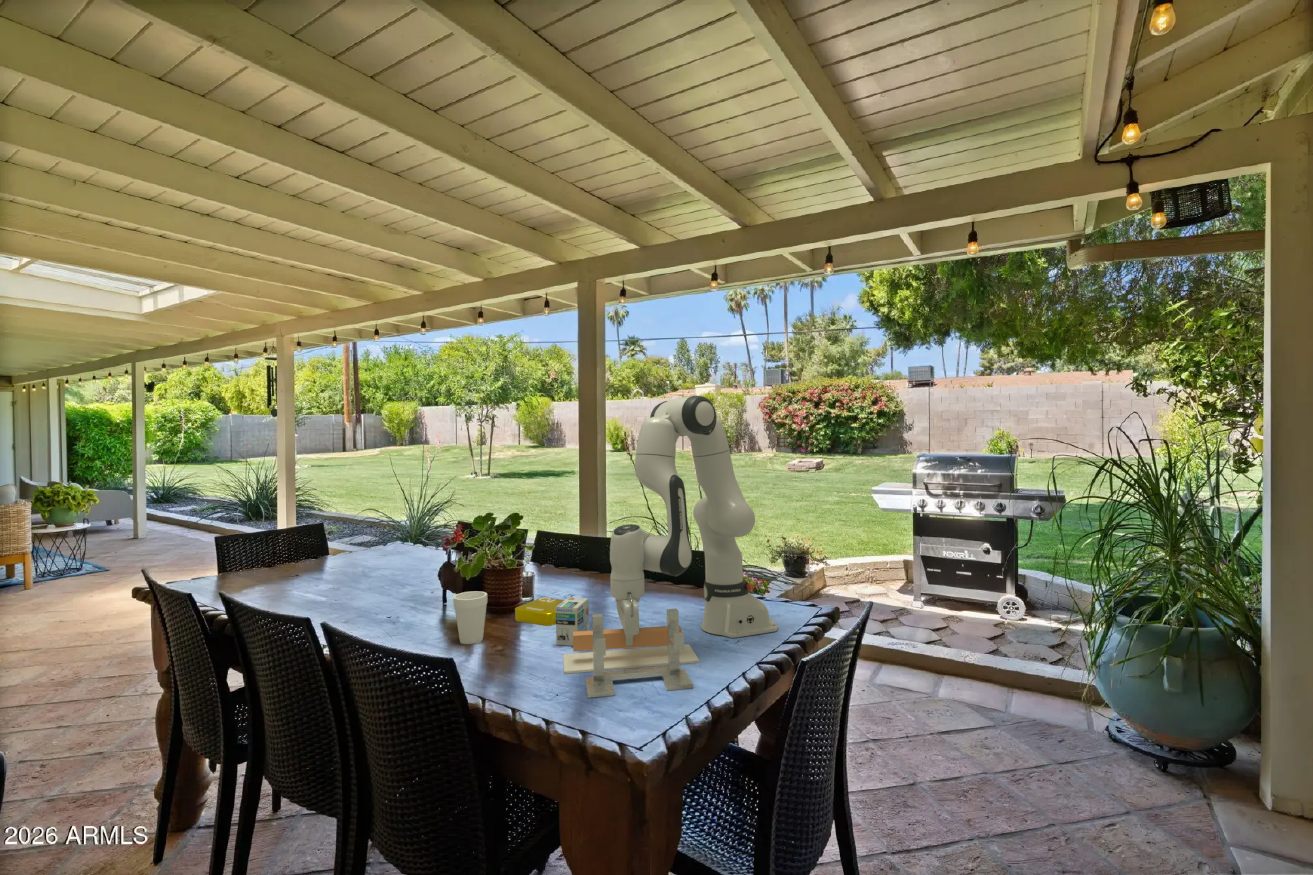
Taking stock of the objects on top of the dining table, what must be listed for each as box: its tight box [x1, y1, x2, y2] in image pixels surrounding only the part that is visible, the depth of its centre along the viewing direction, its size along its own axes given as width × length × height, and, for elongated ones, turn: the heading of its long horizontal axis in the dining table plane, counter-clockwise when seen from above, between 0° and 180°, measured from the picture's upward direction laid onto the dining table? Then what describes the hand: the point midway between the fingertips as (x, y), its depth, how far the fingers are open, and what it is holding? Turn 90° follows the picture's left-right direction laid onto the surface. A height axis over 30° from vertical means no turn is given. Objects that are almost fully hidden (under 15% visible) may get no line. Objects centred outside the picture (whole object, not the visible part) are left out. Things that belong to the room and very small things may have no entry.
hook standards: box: [585, 608, 694, 699], centre depth 142 cm, size 24×9×16 cm, turn 100°
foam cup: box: [452, 590, 488, 645], centre depth 176 cm, size 10×9×13 cm
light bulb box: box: [555, 597, 590, 647], centre depth 175 cm, size 11×7×11 cm, turn 168°
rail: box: [572, 625, 683, 652], centre depth 158 cm, size 28×3×4 cm, turn 99°
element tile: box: [514, 596, 565, 627], centre depth 197 cm, size 15×15×5 cm
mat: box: [562, 644, 700, 675], centre depth 158 cm, size 34×12×1 cm, turn 100°
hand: (628, 641), depth 158 cm, fingers closed on rail, 3 cm apart
